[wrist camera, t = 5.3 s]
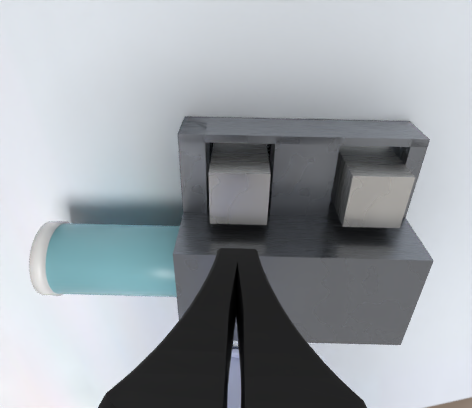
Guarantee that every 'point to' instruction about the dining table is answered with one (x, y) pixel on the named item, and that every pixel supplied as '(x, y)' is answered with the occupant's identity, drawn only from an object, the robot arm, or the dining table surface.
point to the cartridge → (103, 259)
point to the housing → (307, 228)
